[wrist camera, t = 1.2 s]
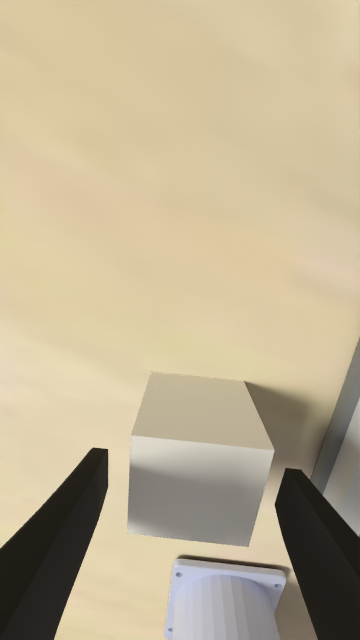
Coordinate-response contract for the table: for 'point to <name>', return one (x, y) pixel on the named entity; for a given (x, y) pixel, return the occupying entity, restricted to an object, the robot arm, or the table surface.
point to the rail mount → (343, 451)
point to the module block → (197, 461)
